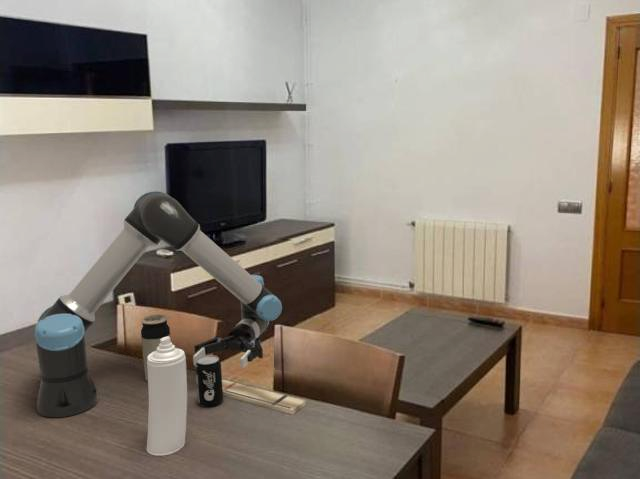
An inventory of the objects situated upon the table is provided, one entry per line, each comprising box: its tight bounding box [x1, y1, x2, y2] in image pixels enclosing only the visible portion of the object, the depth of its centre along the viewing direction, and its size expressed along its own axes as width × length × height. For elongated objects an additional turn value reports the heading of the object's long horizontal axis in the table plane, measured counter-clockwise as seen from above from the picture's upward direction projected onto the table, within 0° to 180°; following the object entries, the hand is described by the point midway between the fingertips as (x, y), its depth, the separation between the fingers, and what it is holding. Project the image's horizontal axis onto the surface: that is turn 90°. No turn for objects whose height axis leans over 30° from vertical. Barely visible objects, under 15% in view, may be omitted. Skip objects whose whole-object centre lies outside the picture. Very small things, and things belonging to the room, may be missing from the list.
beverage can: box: [194, 354, 224, 408], centre depth 162 cm, size 7×7×12 cm
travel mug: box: [140, 314, 172, 382], centre depth 178 cm, size 8×8×18 cm
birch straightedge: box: [222, 378, 307, 415], centre depth 165 cm, size 6×30×1 cm, turn 58°
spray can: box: [146, 336, 188, 457], centre depth 141 cm, size 12×11×25 cm
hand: (218, 362), depth 167 cm, fingers open, 13 cm apart
